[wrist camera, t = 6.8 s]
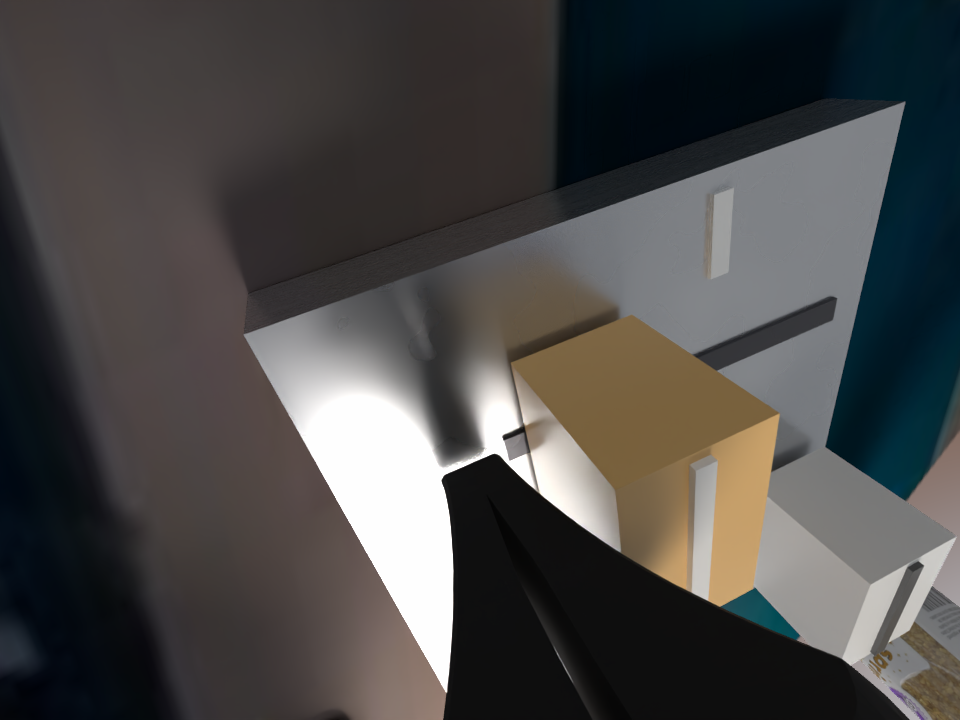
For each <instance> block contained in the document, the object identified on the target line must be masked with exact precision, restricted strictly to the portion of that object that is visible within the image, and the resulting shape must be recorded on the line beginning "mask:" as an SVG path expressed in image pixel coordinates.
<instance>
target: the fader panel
mask: <svg viewBox="0 0 960 720" xmlns="http://www.w3.org/2000/svg"><path fill="white" fill-rule="evenodd" d="M904 105H905V102H900V101H876V100H853V99H829V98H825V99H822V100H819V101H816V102H813V103H810V104H807V105H804V106H801V107H798V108H795V109H792V110H790V111H787V112H784V113H781V114H778V115H775V116H772V117H769V118H766V119H763V120H760V121H757V122H754V123H751V124H748V125H745V126H742V127H739V128H736V129H733V130H730V131H727V132H725V133H722V134H719V135H716V136H713V137H710V138H707V139H704V140H701V141H698V142H695V143H692V144H689V145H686V146H683V147H680V148H677V149H674V150H671V151H668V152H665V153H662V154H659V155H657V156H654V157H651V158H648V159H645V160H642V161H639V162H636V163H633V164H630V165H627V166H624V167H621V168H618V169H615V170H612V171H609V172H606V173H603V174H600V175H597V176H594V177H592V178H589V179H586V180H583V181H580V182H577V183H574V184H571V185H568V186H565V187H562V188H559V189H556V190H553V191H550V192H547V193H544V194H541V195H538V196H535V197H532V198H529V199H526V200H524V201H521V202H518V203H515V204H512V205H509V206H506V207H503V208H500V209H497V210H494V211H491V212H488V213H485V214H482V215H479V216H476V217H473V218H470V219H467V220H464V221H461V222H459V223H456V224H453V225H450V226H447V227H444V228H441V229H438V230H435V231H432V232H429V233H426V234H423V235H420V236H417V237H414V238H411V239H408V240H405V241H402V242H399V243H396V244H393V245H391V246H388V247H385V248H382V249H379V250H376V251H373V252H370V253H367V254H364V255H361V256H358V257H355V258H352V259H349V260H346V261H343V262H340V263H337V264H334V265H331V266H328V267H326V268H323V269H320V270H317V271H314V272H311V273H308V274H305V275H302V276H299V277H296V278H293V279H290V280H287V281H284V282H281V283H278V284H275V285H272V286H269V287H266V288H263V289H260V290H258V291H255V292H252V293H249V294H248V301H247V309H246V318H245V327H244V336H245V338H246V340H247V342H248V343H249V345H250V347H251V349H252V350H253V352H254V354H255V356H256V357H257V359H258V361H259V363H260V365H261V366H262V368H263V370H264V372H265V373H266V375H267V377H268V379H269V380H270V382H271V384H272V386H273V387H274V389H275V391H276V393H277V395H278V396H279V398H280V400H281V402H282V403H283V405H284V407H285V409H286V410H287V412H288V414H289V416H290V417H291V419H292V421H293V423H294V425H295V426H296V428H297V430H298V432H299V433H300V435H301V437H302V439H303V440H304V442H305V444H306V446H307V447H308V449H309V451H310V453H311V455H312V456H313V458H314V460H315V462H316V463H317V465H318V467H319V469H320V470H321V472H322V474H323V476H324V477H325V479H326V481H327V483H328V485H329V486H330V488H331V490H332V492H333V493H334V495H335V497H336V499H337V500H338V502H339V504H340V506H341V507H342V509H343V511H344V513H345V515H346V516H347V518H348V520H349V522H350V523H351V525H352V527H353V529H354V530H355V532H356V534H357V536H358V537H359V539H360V541H361V543H362V545H363V546H364V548H365V550H366V552H367V553H368V555H369V557H370V559H371V560H372V562H373V564H374V566H375V567H376V569H377V571H378V573H379V575H380V576H381V578H382V580H383V582H384V583H385V585H386V587H387V589H388V590H389V592H390V594H391V596H392V597H393V599H394V601H395V603H396V605H397V606H398V608H399V610H400V612H401V613H402V615H403V617H404V619H405V620H406V622H407V624H408V626H409V627H410V629H411V631H412V633H413V635H414V636H415V638H416V640H417V642H418V643H419V645H420V647H421V649H422V650H423V652H424V654H425V656H426V657H427V659H428V661H429V663H430V665H431V666H432V668H433V670H434V672H435V673H436V675H437V677H438V679H439V680H440V682H441V684H442V686H443V687H444V689H445V691H446V693H447V683H448V674H449V664H450V651H451V636H452V615H453V559H452V544H451V529H450V521H449V513H448V506H447V501H446V497H445V492H444V489H443V486H442V483H441V479H442V477H443V476H444V475H445V474H447V473H449V472H452V471H454V470H456V469H459V468H461V467H463V466H465V465H468V464H470V463H472V462H475V461H477V460H479V459H482V458H484V457H486V456H489V455H491V454H493V453H495V454H498V455H500V456H501V457H502V458H503V459H504V461H505V462H506V463H507V464H508V465H509V466H510V467H511V468H512V469H513V470H514V471H515V472H516V473H517V474H518V475H519V476H520V477H522V478H523V479H524V480H525V481H526V482H527V483H528V484H529V485H530V486H531V487H533V488H534V489H535V490H536V491H537V492H538V493H540V492H539V488H538V483H537V479H536V474H535V470H534V465H533V461H532V457H531V452H530V448H529V443H528V439H527V434H526V430H525V425H524V421H523V416H522V412H521V407H520V403H519V399H518V394H517V390H516V385H515V381H514V376H513V372H512V367H511V362H514V361H516V360H519V359H521V358H524V357H526V356H529V355H532V354H534V353H537V352H539V351H542V350H544V349H547V348H549V347H552V346H554V345H557V344H559V343H562V342H564V341H567V340H569V339H572V338H574V337H577V336H579V335H582V334H584V333H587V332H589V331H592V330H594V329H597V328H599V327H602V326H604V325H607V324H609V323H612V322H614V321H617V320H619V319H622V318H624V317H627V316H629V315H634V316H635V317H636V318H638V319H639V320H641V321H642V322H644V323H645V324H647V325H648V326H650V327H651V328H653V329H654V330H656V331H657V332H659V333H660V334H662V335H663V336H665V337H666V338H668V339H669V340H671V341H672V342H674V343H675V344H677V345H678V346H680V347H681V348H683V349H684V350H686V351H687V352H689V353H690V354H692V355H693V356H695V357H696V358H698V359H699V360H701V361H702V362H704V363H705V364H707V365H708V366H710V367H711V368H713V369H714V370H716V371H717V372H719V373H720V374H722V375H723V376H725V377H726V378H728V379H729V380H731V381H732V382H734V383H735V384H737V385H738V386H740V387H741V388H743V389H744V390H746V391H747V392H749V393H750V394H752V395H753V396H755V397H756V398H758V399H759V400H761V401H762V402H764V403H765V404H767V405H768V406H770V407H771V408H773V409H774V410H776V411H777V412H779V413H780V417H779V423H778V430H777V436H776V443H775V449H774V455H773V462H772V468H771V472H773V471H775V470H777V469H779V468H781V467H783V466H785V465H787V464H789V463H791V462H793V461H795V460H797V459H799V458H801V457H803V456H805V455H807V454H810V453H812V452H814V451H816V450H818V449H820V448H822V447H825V445H826V441H827V436H828V432H829V428H830V423H831V419H832V415H833V411H834V406H835V402H836V398H837V393H838V389H839V385H840V380H841V376H842V372H843V367H844V363H845V359H846V355H847V350H848V346H849V342H850V337H851V333H852V329H853V324H854V320H855V316H856V312H857V307H858V303H859V299H860V294H861V290H862V286H863V281H864V277H865V273H866V268H867V264H868V260H869V256H870V251H871V247H872V243H873V238H874V234H875V230H876V225H877V221H878V217H879V213H880V208H881V204H882V200H883V195H884V191H885V187H886V182H887V178H888V174H889V169H890V165H891V161H892V157H893V152H894V148H895V144H896V139H897V135H898V131H899V126H900V122H901V118H902V114H903V109H904ZM754 588H755V587H754V585H753V589H754ZM557 654H558V653H557ZM558 656H559V655H558ZM559 658H560V657H559ZM560 660H561V659H560ZM561 662H562V661H561ZM562 664H563V663H562ZM563 665H564V664H563ZM564 667H565V666H564ZM565 669H566V668H565ZM566 671H567V670H566ZM567 673H568V672H567ZM568 675H569V674H568ZM569 677H570V676H569ZM570 679H571V678H570Z"/></svg>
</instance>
